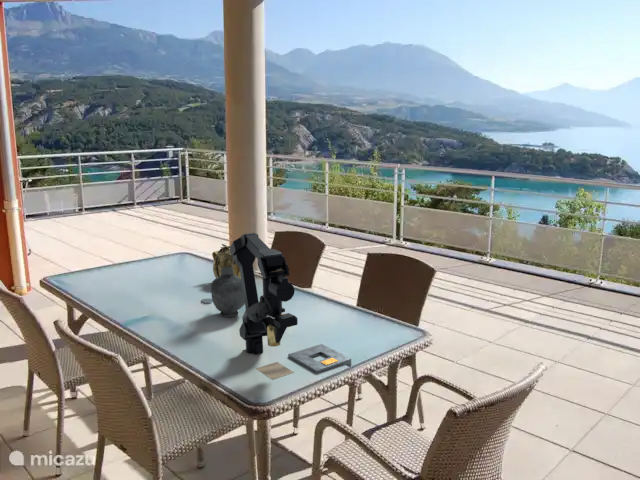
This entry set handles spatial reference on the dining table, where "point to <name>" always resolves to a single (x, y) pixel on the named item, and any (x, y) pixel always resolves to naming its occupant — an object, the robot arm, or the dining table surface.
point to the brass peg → (271, 336)
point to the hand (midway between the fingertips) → (274, 340)
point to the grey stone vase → (227, 285)
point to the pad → (275, 370)
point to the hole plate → (330, 362)
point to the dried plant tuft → (235, 267)
